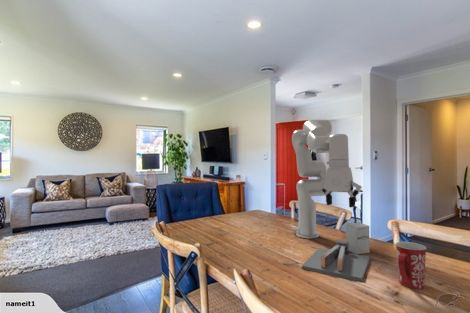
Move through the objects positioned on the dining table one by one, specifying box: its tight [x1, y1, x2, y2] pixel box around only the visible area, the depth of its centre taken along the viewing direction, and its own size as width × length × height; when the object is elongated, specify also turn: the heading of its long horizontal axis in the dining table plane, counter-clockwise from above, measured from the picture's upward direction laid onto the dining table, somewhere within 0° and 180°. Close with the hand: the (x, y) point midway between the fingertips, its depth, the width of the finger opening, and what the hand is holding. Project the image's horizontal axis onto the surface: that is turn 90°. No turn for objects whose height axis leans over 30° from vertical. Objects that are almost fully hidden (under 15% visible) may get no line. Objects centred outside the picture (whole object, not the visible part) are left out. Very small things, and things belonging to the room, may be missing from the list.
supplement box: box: [345, 222, 370, 255], centre depth 126 cm, size 7×7×13 cm
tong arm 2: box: [338, 246, 345, 271], centre depth 110 cm, size 2×18×4 cm, turn 154°
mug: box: [395, 241, 427, 290], centre depth 93 cm, size 13×9×14 cm
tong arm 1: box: [321, 244, 340, 268], centre depth 112 cm, size 2×18×4 cm, turn 140°
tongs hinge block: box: [335, 239, 350, 255], centre depth 121 cm, size 5×3×5 cm, turn 57°
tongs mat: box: [301, 247, 371, 282], centre depth 112 cm, size 22×24×1 cm
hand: (340, 205), depth 111 cm, fingers open, 9 cm apart
